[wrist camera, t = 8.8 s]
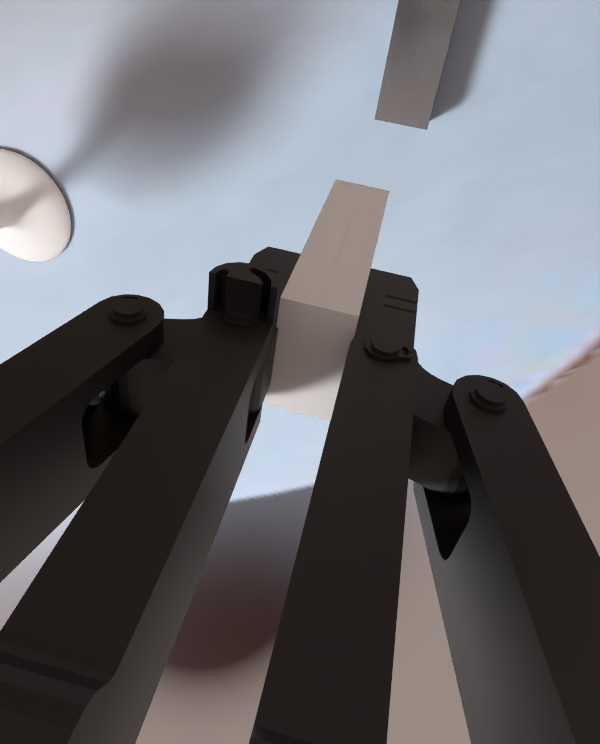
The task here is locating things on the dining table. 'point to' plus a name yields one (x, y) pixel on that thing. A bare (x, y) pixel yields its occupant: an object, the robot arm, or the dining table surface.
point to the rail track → (416, 61)
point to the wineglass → (31, 210)
